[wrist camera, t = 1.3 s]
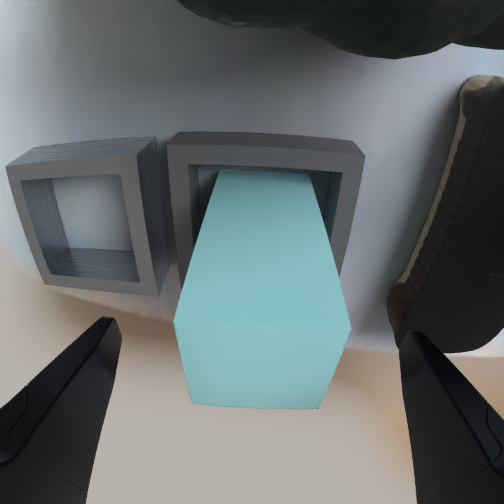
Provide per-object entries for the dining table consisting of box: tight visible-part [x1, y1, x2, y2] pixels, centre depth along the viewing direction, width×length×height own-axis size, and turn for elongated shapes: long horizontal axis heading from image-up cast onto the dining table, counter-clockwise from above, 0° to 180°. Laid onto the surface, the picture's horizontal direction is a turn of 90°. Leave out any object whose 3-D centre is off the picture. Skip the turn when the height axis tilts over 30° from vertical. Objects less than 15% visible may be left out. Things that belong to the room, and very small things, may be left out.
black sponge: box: [387, 75, 504, 353], centre depth 14 cm, size 16×8×4 cm, turn 174°
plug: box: [173, 170, 351, 409], centre depth 12 cm, size 4×4×9 cm
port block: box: [5, 137, 170, 296], centre depth 14 cm, size 7×7×2 cm
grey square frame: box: [167, 132, 365, 289], centre depth 15 cm, size 8×8×2 cm
